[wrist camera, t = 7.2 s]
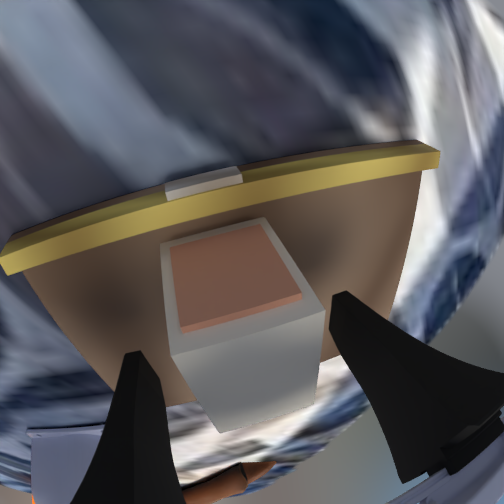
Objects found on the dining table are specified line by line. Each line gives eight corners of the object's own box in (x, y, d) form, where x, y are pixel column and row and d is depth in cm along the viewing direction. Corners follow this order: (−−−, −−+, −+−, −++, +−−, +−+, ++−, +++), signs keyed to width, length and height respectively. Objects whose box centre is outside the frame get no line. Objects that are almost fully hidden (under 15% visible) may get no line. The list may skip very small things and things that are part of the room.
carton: (197, 342, 14) (219, 433, 10) (157, 238, 11) (167, 350, 7) (274, 320, 15) (313, 404, 11) (263, 210, 11) (326, 303, 7)
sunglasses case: (210, 491, 41) (202, 519, 35) (178, 474, 40) (167, 502, 34) (281, 459, 36) (277, 495, 30) (243, 439, 35) (235, 476, 29)
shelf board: (134, 405, 18) (136, 425, 16) (8, 228, 9) (-7, 251, 8) (377, 331, 20) (388, 346, 19) (417, 133, 12) (441, 145, 10)
